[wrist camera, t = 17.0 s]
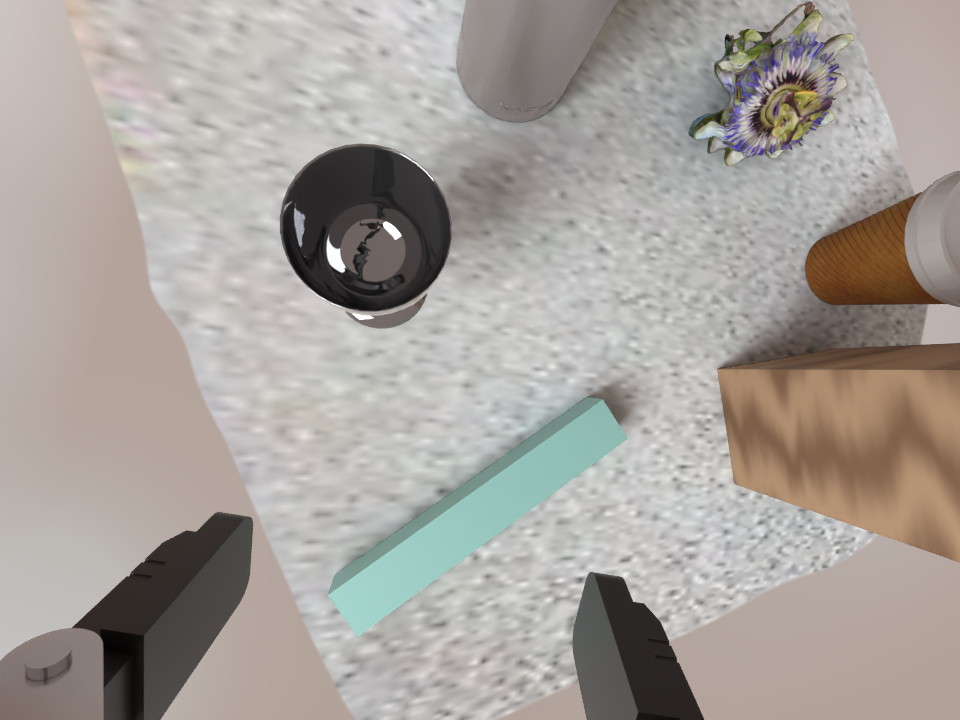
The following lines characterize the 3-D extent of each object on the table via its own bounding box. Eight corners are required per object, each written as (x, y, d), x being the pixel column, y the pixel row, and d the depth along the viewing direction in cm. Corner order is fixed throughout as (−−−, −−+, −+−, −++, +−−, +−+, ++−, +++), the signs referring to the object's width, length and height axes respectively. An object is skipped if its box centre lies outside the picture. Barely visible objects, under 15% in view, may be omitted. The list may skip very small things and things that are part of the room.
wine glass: (381, 210, 38) (367, 108, 23) (453, 284, 39) (485, 231, 24) (305, 280, 37) (240, 222, 22) (381, 355, 38) (368, 346, 23)
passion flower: (693, 179, 48) (691, 169, 37) (682, 59, 46) (677, 11, 35) (831, 149, 43) (875, 127, 33) (826, 13, 41) (871, -58, 30)
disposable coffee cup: (783, 314, 43) (927, 294, 31) (794, 209, 44) (940, 149, 32) (875, 329, 45) (1046, 316, 33) (885, 227, 45) (1058, 177, 33)
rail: (335, 573, 37) (327, 595, 34) (585, 396, 41) (602, 399, 37) (361, 611, 38) (357, 636, 34) (608, 432, 41) (627, 438, 37)
